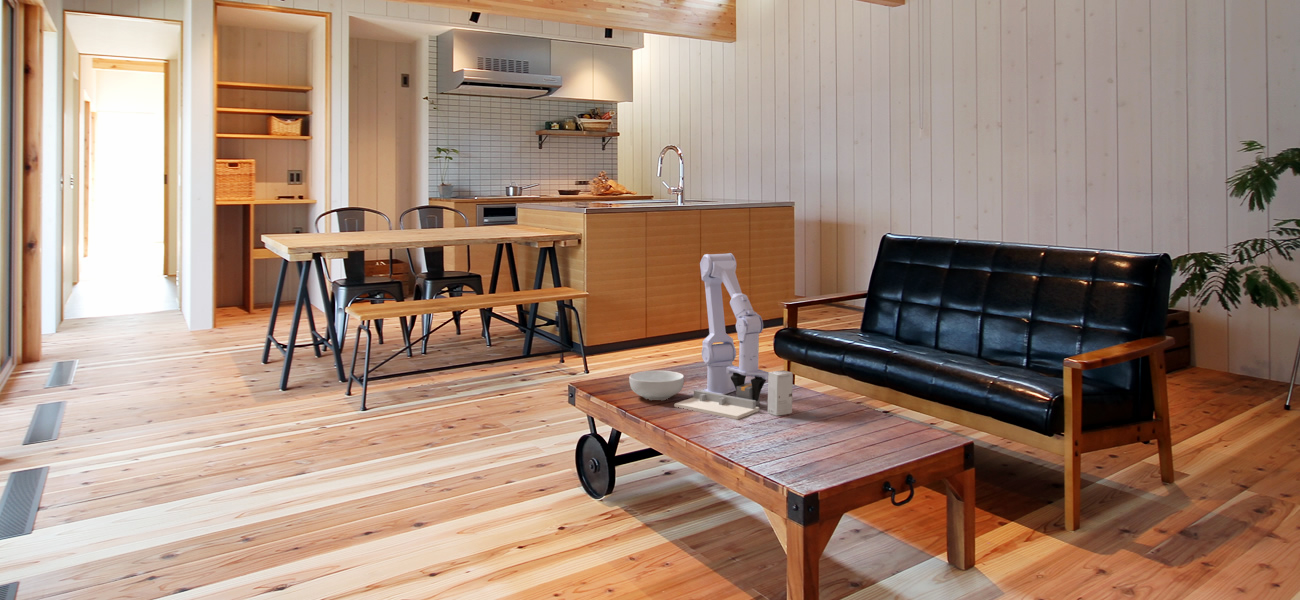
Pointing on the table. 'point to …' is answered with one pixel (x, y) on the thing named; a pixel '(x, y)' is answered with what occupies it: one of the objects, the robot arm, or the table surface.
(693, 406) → the rail base
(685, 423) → the table surface
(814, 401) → the table surface
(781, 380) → the skincare box
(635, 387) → the cereal bowl
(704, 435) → the table surface
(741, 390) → the block
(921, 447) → the table surface
